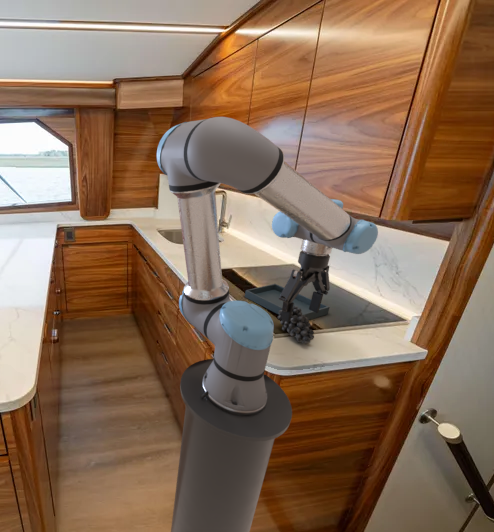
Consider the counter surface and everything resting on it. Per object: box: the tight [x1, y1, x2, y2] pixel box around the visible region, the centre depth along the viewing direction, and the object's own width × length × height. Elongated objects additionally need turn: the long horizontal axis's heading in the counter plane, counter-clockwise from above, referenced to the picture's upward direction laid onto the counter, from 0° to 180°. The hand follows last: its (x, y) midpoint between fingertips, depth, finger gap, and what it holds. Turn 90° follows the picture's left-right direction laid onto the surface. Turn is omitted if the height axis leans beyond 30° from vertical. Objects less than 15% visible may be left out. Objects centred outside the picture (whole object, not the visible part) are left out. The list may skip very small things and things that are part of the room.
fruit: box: [277, 306, 315, 345], centre depth 96 cm, size 9×8×15 cm
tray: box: [244, 283, 331, 321], centre depth 117 cm, size 17×23×3 cm
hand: (299, 315), depth 95 cm, fingers open, 13 cm apart
